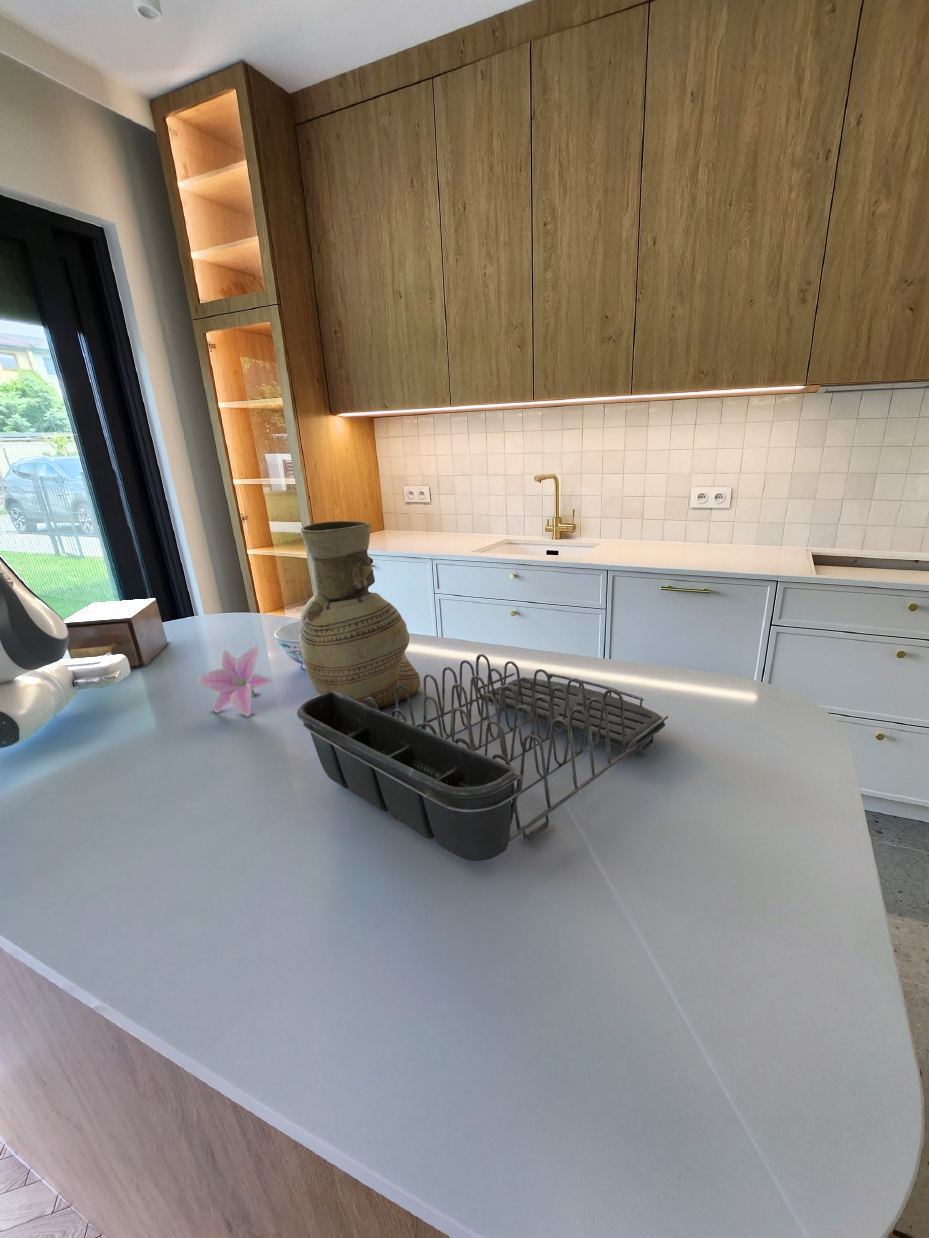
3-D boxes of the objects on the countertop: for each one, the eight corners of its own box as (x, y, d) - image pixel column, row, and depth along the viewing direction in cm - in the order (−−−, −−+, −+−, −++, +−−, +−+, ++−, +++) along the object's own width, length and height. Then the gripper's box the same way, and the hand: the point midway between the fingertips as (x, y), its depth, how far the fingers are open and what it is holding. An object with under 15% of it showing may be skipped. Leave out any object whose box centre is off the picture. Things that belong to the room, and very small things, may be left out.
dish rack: (298, 783, 78) (281, 701, 73) (519, 683, 107) (518, 620, 103) (476, 907, 56) (469, 801, 52) (691, 739, 86) (699, 662, 81)
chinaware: (266, 669, 118) (258, 632, 115) (326, 648, 129) (321, 614, 126) (313, 684, 110) (306, 645, 107) (373, 660, 121) (368, 624, 118)
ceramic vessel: (407, 668, 116) (391, 511, 104) (432, 709, 98) (416, 525, 86) (307, 683, 110) (278, 519, 98) (314, 730, 92) (279, 536, 80)
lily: (202, 707, 104) (177, 673, 96) (255, 665, 110) (235, 630, 102) (245, 740, 100) (223, 708, 92) (298, 695, 105) (281, 661, 98)
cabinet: (145, 666, 121) (130, 617, 117) (76, 673, 119) (59, 622, 115) (167, 643, 135) (155, 598, 131) (107, 648, 133) (92, 603, 129)
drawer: (129, 673, 115) (116, 631, 111) (63, 680, 113) (48, 636, 109) (160, 643, 132) (149, 605, 129) (104, 648, 130) (91, 610, 127)
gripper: (107, 663, 97) (137, 637, 109) (-36, 676, 93) (11, 648, 105) (118, 697, 99) (146, 669, 112) (-21, 712, 95) (23, 680, 108)
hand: (79, 659), depth 108 cm, fingers open, 8 cm apart
